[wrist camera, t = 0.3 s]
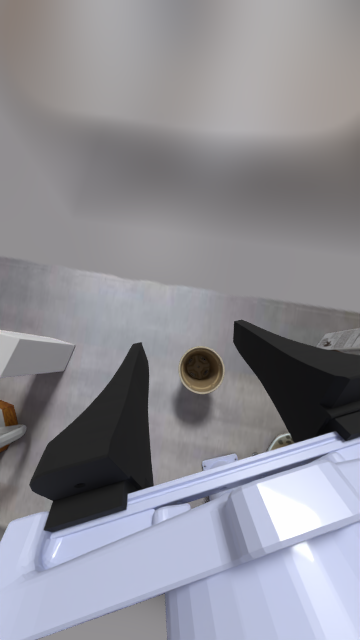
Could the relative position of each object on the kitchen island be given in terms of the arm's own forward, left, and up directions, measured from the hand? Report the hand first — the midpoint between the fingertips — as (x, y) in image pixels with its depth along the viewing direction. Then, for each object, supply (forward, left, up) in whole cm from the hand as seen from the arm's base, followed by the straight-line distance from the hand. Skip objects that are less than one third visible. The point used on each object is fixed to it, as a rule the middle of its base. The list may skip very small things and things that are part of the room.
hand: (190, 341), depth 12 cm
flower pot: (-4, -2, -31) cm, 31 cm away
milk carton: (+7, +34, -30) cm, 46 cm away
